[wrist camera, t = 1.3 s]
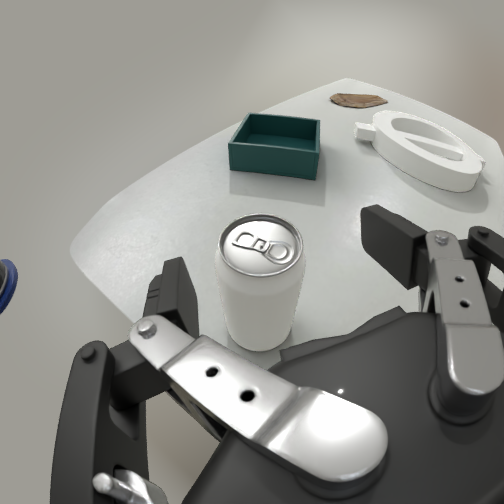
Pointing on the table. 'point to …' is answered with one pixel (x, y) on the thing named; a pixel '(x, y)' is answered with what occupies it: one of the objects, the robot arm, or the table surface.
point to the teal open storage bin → (276, 145)
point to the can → (259, 278)
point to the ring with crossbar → (422, 150)
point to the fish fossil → (357, 100)
